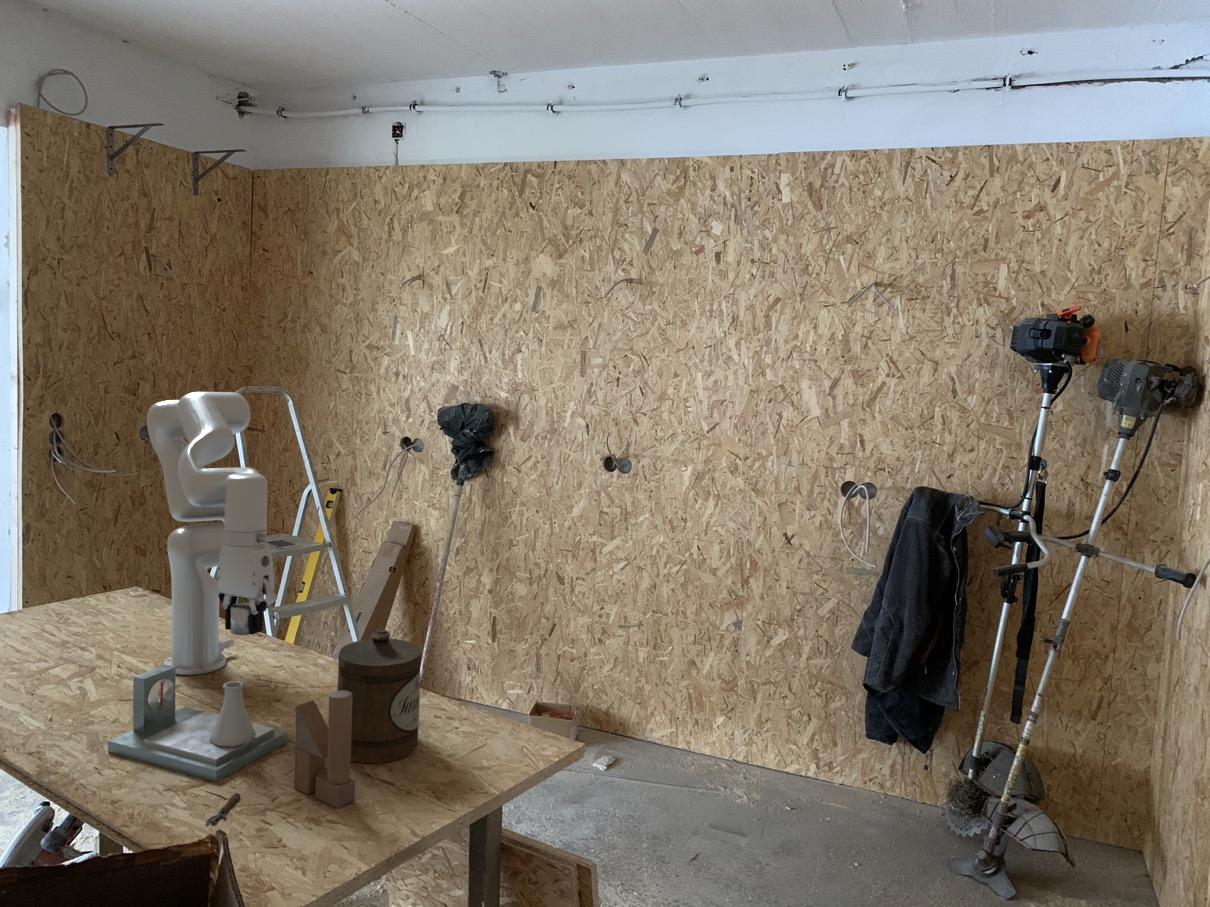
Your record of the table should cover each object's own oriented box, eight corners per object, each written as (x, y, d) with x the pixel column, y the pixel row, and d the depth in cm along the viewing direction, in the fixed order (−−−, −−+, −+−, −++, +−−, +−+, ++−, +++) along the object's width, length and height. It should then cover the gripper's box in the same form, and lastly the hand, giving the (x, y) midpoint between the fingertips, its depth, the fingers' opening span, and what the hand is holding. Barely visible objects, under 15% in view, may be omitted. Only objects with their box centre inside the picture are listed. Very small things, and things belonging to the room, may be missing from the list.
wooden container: (416, 763, 158) (420, 643, 156) (329, 765, 156) (332, 642, 153) (419, 728, 173) (423, 618, 170) (340, 729, 170) (343, 617, 168)
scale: (184, 716, 171) (185, 656, 170) (286, 742, 163) (287, 679, 162) (107, 751, 156) (107, 685, 154) (216, 782, 147) (217, 712, 146)
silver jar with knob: (224, 632, 172) (224, 607, 171) (243, 625, 176) (243, 600, 176) (245, 636, 170) (245, 610, 169) (263, 629, 174) (264, 604, 174)
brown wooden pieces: (311, 780, 150) (313, 677, 148) (355, 800, 144) (358, 693, 142) (292, 788, 147) (295, 683, 145) (337, 809, 141) (340, 700, 139)
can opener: (234, 798, 143) (234, 791, 143) (247, 800, 143) (247, 793, 143) (201, 827, 134) (201, 820, 134) (215, 829, 134) (215, 822, 134)
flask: (234, 751, 152) (235, 694, 151) (200, 743, 154) (201, 687, 153) (263, 735, 159) (264, 680, 158) (230, 727, 161) (231, 674, 160)
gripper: (295, 540, 172) (292, 632, 174) (225, 529, 177) (223, 618, 179) (267, 547, 165) (265, 643, 167) (195, 535, 170) (194, 628, 172)
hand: (244, 629), depth 173 cm, fingers closed on silver jar with knob, 5 cm apart
